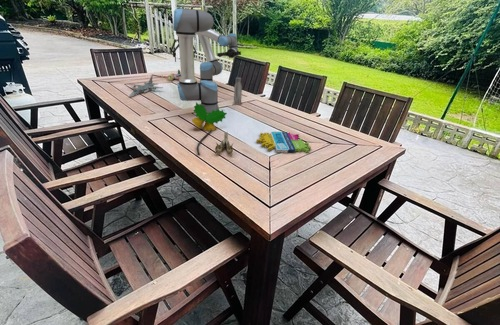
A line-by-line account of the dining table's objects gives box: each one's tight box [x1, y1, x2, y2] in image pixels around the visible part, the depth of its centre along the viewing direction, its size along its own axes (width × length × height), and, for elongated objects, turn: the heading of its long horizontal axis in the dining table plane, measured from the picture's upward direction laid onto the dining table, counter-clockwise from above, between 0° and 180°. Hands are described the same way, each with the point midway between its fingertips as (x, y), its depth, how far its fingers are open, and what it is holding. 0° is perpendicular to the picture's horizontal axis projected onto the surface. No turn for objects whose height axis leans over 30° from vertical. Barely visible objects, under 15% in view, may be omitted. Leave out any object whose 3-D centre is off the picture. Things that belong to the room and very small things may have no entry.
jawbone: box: [214, 131, 234, 156], centre depth 136 cm, size 9×15×10 cm
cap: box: [235, 76, 242, 83], centre depth 205 cm, size 4×4×2 cm
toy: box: [160, 69, 181, 82], centre depth 280 cm, size 28×7×30 cm
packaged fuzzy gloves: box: [256, 131, 312, 154], centre depth 152 cm, size 26×2×30 cm
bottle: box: [233, 80, 243, 106], centre depth 210 cm, size 6×6×20 cm
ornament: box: [191, 101, 228, 132], centre depth 162 cm, size 21×8×15 cm, turn 105°
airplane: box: [127, 74, 164, 98], centre depth 226 cm, size 38×31×10 cm
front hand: (184, 61), depth 211 cm, fingers open, 13 cm apart
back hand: (227, 54), depth 211 cm, fingers open, 13 cm apart
